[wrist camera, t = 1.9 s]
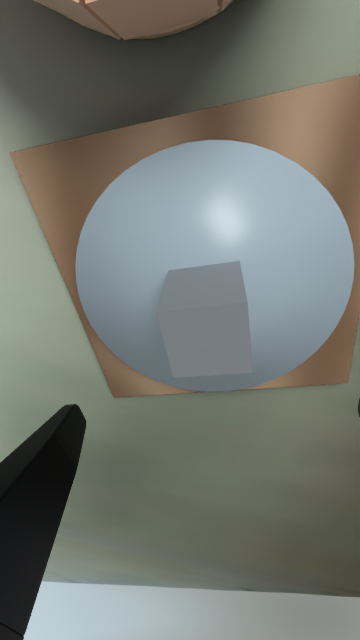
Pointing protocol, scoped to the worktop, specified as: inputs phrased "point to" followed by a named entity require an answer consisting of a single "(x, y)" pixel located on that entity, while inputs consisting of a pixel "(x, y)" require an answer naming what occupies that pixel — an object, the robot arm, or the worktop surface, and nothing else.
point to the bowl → (138, 15)
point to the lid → (214, 265)
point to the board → (212, 123)
